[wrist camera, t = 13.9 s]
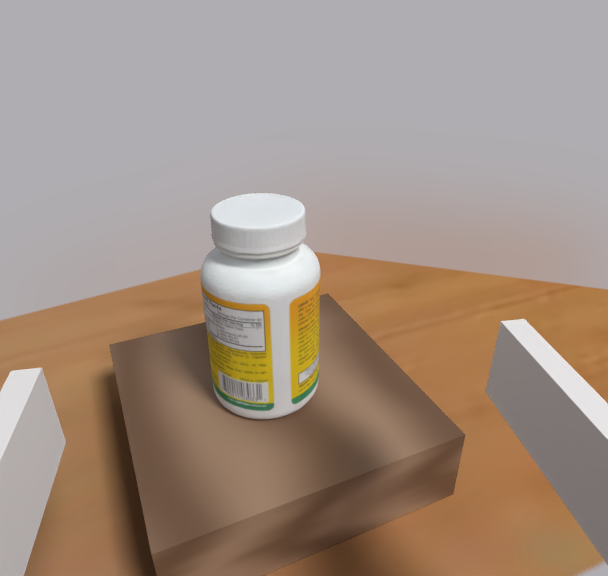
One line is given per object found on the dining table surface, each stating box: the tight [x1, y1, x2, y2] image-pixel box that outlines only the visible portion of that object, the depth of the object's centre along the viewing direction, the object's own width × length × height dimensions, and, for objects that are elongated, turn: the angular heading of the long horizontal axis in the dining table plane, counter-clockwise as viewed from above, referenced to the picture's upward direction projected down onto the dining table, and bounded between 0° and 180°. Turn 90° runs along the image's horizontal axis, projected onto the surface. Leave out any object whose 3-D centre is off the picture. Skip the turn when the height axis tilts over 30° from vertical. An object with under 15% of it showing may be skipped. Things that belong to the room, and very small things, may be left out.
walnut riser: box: [109, 294, 465, 576], centre depth 27 cm, size 14×14×4 cm
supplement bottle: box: [201, 193, 320, 419], centre depth 24 cm, size 5×5×10 cm
